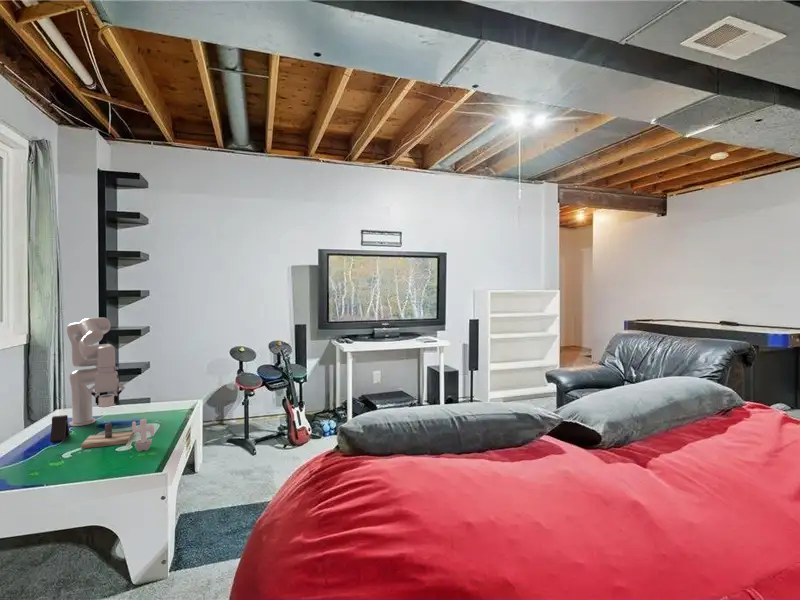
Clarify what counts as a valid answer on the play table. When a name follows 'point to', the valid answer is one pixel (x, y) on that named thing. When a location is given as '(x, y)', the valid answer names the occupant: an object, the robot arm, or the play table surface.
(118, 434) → the post stand
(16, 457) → the play table surface
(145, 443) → the figurine
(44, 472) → the play table surface
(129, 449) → the play table surface
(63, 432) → the phone stand
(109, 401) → the steel ring
